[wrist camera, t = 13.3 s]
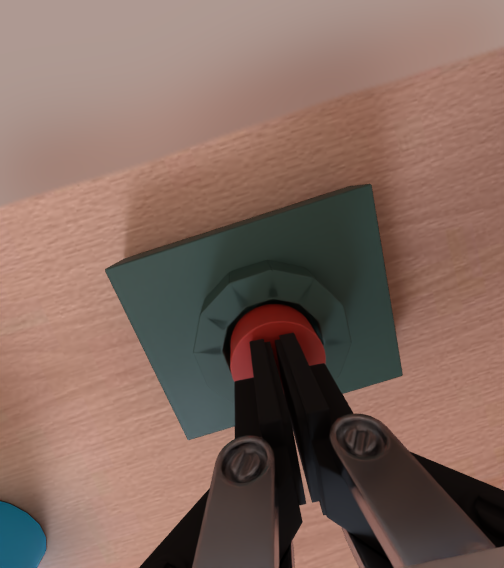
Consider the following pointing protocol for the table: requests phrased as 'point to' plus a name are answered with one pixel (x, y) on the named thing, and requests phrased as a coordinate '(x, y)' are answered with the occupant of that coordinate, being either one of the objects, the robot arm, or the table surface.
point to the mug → (20, 538)
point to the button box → (262, 299)
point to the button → (271, 337)
